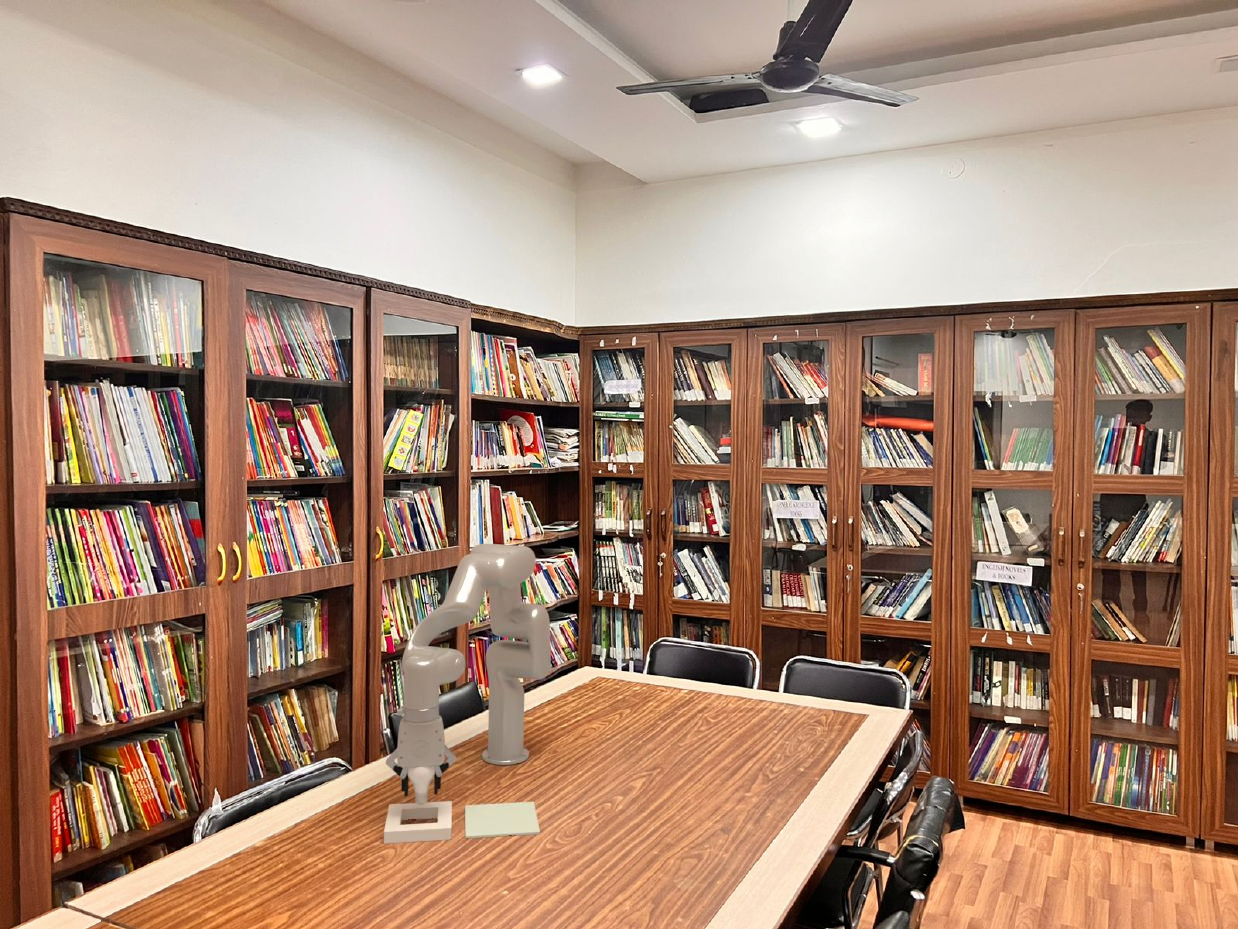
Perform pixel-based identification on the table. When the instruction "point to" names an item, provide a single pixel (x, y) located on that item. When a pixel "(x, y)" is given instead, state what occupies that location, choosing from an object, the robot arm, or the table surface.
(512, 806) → the sage mat
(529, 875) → the table surface
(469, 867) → the table surface
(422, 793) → the lightbulb
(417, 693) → the robot arm
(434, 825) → the pocket holder
